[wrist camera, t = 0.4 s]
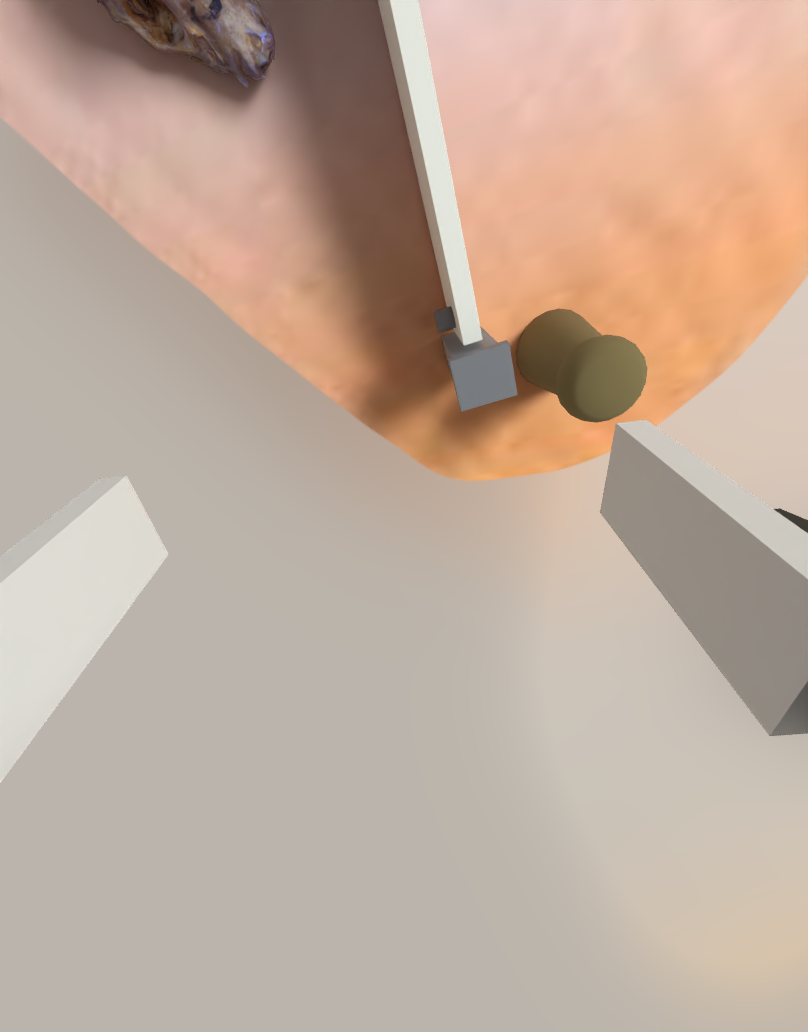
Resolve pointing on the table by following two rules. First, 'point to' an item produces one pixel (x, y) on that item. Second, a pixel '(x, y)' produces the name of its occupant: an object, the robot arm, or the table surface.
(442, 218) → the gate
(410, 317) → the table surface
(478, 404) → the post
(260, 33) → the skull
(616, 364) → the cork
